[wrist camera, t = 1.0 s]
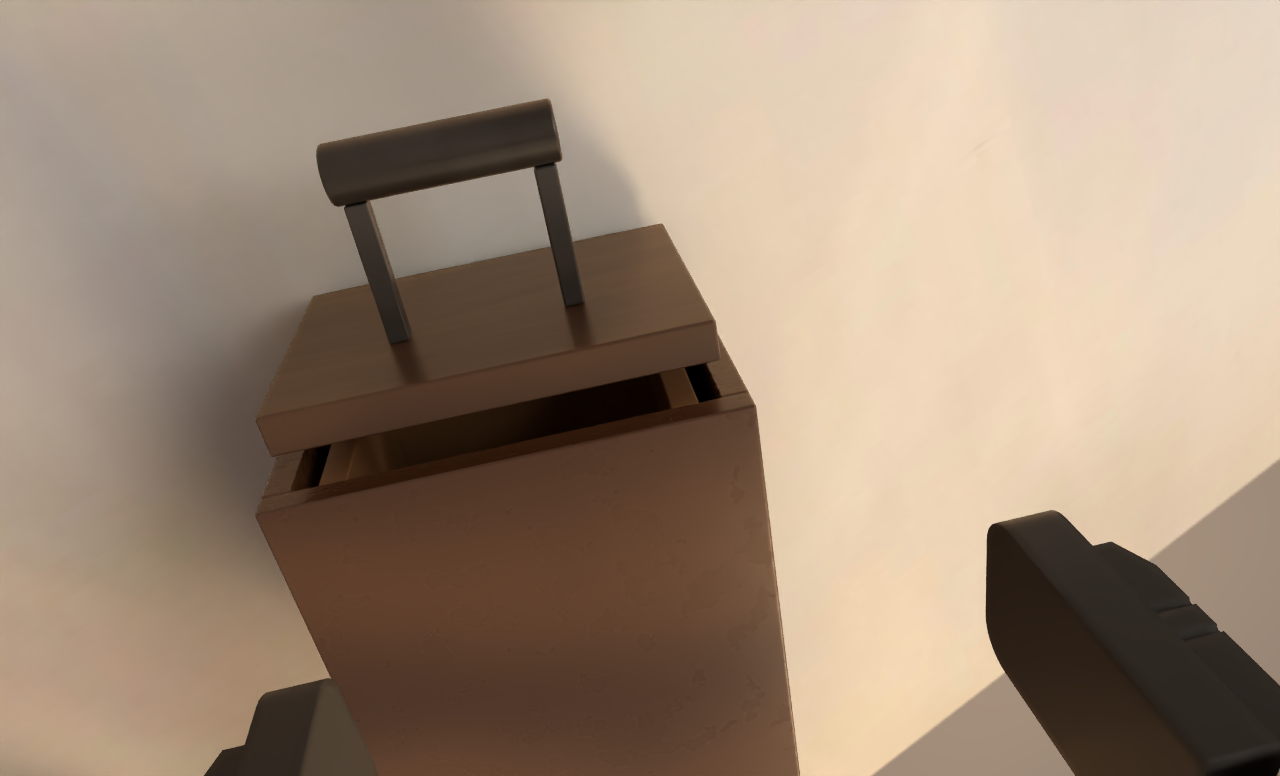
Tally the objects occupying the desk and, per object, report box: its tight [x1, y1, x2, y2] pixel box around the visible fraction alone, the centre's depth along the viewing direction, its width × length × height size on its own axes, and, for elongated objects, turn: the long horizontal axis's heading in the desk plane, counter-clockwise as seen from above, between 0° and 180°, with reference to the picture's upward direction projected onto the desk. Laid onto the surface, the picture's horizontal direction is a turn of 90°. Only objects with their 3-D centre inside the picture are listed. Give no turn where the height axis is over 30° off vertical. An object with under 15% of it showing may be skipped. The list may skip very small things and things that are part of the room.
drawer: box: [255, 99, 720, 486], centre depth 29 cm, size 21×12×8 cm, turn 10°
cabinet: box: [255, 334, 800, 776], centre depth 31 cm, size 17×13×10 cm
